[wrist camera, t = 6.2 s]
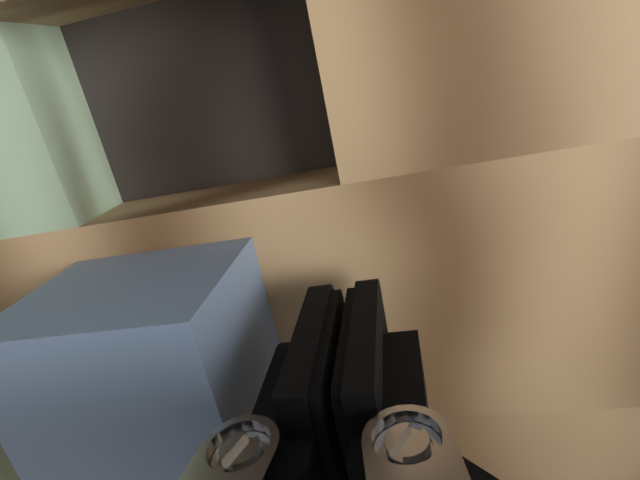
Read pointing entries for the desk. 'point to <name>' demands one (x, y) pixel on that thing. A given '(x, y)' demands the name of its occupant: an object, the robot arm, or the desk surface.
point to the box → (362, 184)
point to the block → (133, 361)
